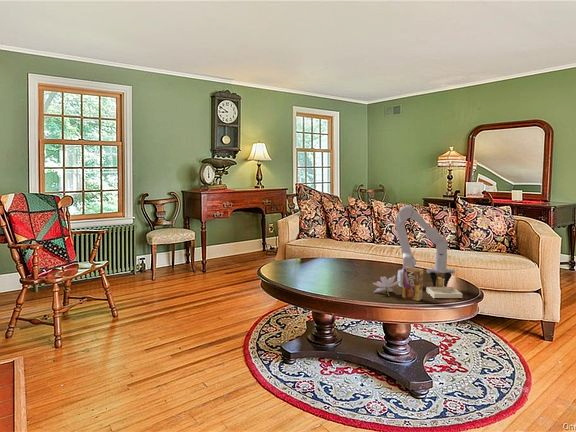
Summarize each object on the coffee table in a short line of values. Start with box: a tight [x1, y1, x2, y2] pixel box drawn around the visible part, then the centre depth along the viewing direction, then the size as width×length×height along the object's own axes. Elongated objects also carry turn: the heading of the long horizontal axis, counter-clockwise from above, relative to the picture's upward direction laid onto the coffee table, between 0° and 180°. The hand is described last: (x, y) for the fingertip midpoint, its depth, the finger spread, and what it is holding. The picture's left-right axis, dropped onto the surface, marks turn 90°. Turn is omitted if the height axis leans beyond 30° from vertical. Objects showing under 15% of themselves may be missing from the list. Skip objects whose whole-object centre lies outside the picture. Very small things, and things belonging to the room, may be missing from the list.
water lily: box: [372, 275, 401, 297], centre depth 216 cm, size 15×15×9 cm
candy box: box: [401, 267, 424, 302], centre depth 209 cm, size 9×4×15 cm, turn 47°
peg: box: [436, 276, 444, 287], centre depth 227 cm, size 3×3×6 cm
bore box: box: [425, 286, 463, 299], centre depth 216 cm, size 14×12×2 cm
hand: (439, 286), depth 227 cm, fingers open, 5 cm apart
